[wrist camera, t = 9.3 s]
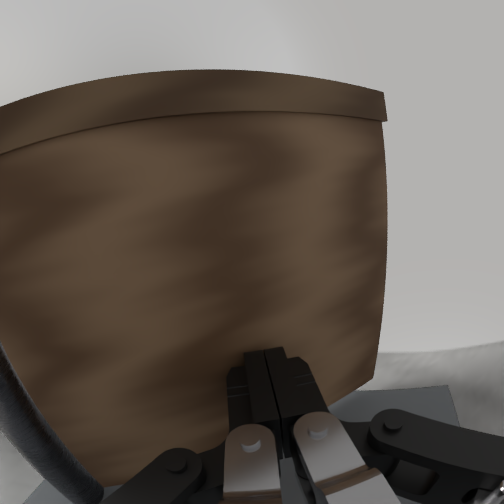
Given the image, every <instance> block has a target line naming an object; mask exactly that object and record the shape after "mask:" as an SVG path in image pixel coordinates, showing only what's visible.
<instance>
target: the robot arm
mask: <svg viewBox="0 0 504 504" xmlns="http://www.w3.org/2000/svg"><path fill="white" fill-rule="evenodd" d="M243 354H244V361H245V366H239V367H231V369H230V371H229V373H228V375H227V376H226V383H227V397H228V398H227V401H228V417H229V433H228V436H227V438H226V439H225V440H224V441H223V442H222V443H221V444H220V445H219V446H217V447H215V448H213V449H210V450H207V451H204V452H201V453H198V454H196V453H195V452H194V451H192V450H190V449H186V448H172V449H169V450H166V451H164V452H163V453H161V454H160V455H159V456H158V457H156V458H155V459H154V460H153V461H152V462H151V463H149V464H148V465H147V466H146V467H145V468H143V469H142V470H141V471H140V472H139V473H137V474H136V475H135V476H134V477H132V478H131V479H130V480H129V481H127V482H126V483H125V484H124V485H122V486H121V487H120V488H118V489H117V490H116V491H115V492H113V493H112V494H111V495H109V496H108V497H107V498H105V499H104V500H103V501H101V502H100V503H99V504H282V495H281V487H280V477H281V469H280V460H281V459H283V453H284V457H285V458H291V457H292V459H293V463H294V467H295V477H296V479H297V482H298V485H299V487H300V490H301V493H302V495H303V498H304V500H305V503H306V504H401V503H400V501H399V499H398V498H397V496H400V497H403V498H405V499H408V500H411V501H414V502H418V503H421V504H504V437H501V436H496V435H492V434H487V433H483V432H478V431H474V430H470V429H466V428H462V427H458V426H454V425H450V424H447V423H443V422H440V421H436V420H433V419H429V418H426V417H423V416H420V415H416V414H413V413H410V412H407V411H404V410H400V409H386V410H383V411H380V412H379V413H377V414H376V415H375V416H374V417H373V418H372V420H371V421H369V422H346V421H342V420H340V419H338V418H337V417H336V416H334V415H332V414H331V413H330V411H329V410H328V408H327V405H326V403H325V401H324V399H323V396H322V394H321V392H320V390H319V387H318V385H317V383H316V382H315V379H314V376H313V375H312V372H311V370H310V367H309V365H308V363H307V362H305V361H304V360H303V359H301V358H300V357H299V356H298V357H293V358H288V359H287V356H286V353H285V351H284V348H283V346H281V347H275V348H269V349H264V354H263V350H257V351H251V352H244V353H243ZM282 448H283V450H282ZM396 495H397V496H396Z"/></svg>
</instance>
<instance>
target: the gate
mask: <svg viewBox="0 0 504 504" xmlns="http://www.w3.org/2000/svg"><path fill="white" fill-rule="evenodd" d="M385 121H387V113H386V106H385V100H384V93H383V92H380V91H377V90H373V89H369V88H365V87H361V86H356V85H351V84H347V83H342V82H337V81H331V80H326V79H320V78H314V77H308V76H300V75H293V74H284V73H274V72H263V71H248V70H247V71H246V70H175V71H161V72H149V73H139V74H131V75H123V76H116V77H111V78H104V79H98V80H93V81H88V82H83V83H79V84H74V85H70V86H66V87H62V88H57V89H54V90H50V91H47V92H43V93H39V94H36V95H33V96H30V97H27V98H23V99H20V100H18V101H15V102H12V103H9V104H7V105H4V106H1V107H0V341H1V344H2V346H3V348H4V350H5V352H6V354H7V356H8V358H9V360H10V362H11V364H12V366H13V368H14V369H15V371H16V373H17V375H18V377H19V378H20V380H21V382H22V384H23V385H24V387H25V389H26V390H27V392H28V394H29V395H30V397H31V398H32V400H33V402H34V403H35V405H36V406H37V408H38V409H39V411H40V412H41V414H42V415H43V416H44V418H45V419H46V421H47V422H48V424H49V425H50V426H51V428H52V429H53V430H54V432H55V433H56V434H57V436H58V437H59V438H60V439H61V441H62V442H63V443H64V445H65V446H66V447H67V448H68V449H69V451H70V452H71V453H72V454H73V455H74V457H75V458H76V459H77V460H78V461H79V462H80V463H81V464H82V466H83V467H84V468H85V469H86V470H87V471H88V472H89V473H90V474H91V475H92V476H93V477H94V478H95V479H96V480H97V481H98V482H99V483H100V484H101V485H102V486H103V487H110V486H116V485H122V484H125V483H126V482H127V481H129V480H130V479H131V478H132V477H134V476H135V475H136V474H137V473H139V472H140V471H141V470H142V469H143V468H145V467H146V466H147V465H148V464H149V463H151V462H152V461H153V460H154V459H155V458H156V457H158V456H159V455H160V454H161V453H163V452H164V451H166V450H169V449H172V448H186V449H190V450H192V451H194V452H195V453H196V454H198V453H201V452H204V451H207V450H210V449H213V448H215V447H217V446H219V445H220V444H221V443H222V442H223V441H224V440H225V439H226V438H227V436H228V433H229V417H228V401H227V398H228V397H227V383H226V376H227V375H228V373H229V371H230V369H231V367H239V366H245V361H244V354H243V353H244V352H251V351H257V350H263V354H264V349H269V348H275V347H281V346H283V348H284V351H285V353H286V356H287V359H288V358H293V357H298V356H299V357H300V358H301V359H303V360H304V361H305V362H307V363H308V365H309V367H310V370H311V372H312V375H313V376H314V379H315V382H316V383H317V385H318V387H319V390H320V392H321V394H322V396H323V399H324V401H325V403H326V405H327V407H328V406H330V405H332V404H333V403H335V402H337V401H338V400H340V399H342V398H343V397H345V396H346V395H348V394H350V393H351V392H353V391H354V390H356V389H357V388H359V387H360V386H362V385H363V384H365V383H366V382H368V381H369V380H371V379H372V378H373V376H374V370H375V364H376V358H377V352H378V345H379V337H380V330H381V322H382V314H383V304H384V292H385V279H386V261H387V184H386V183H387V182H386V163H385V150H384V139H383V129H382V122H385Z"/></svg>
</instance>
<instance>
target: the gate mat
mask: <svg viewBox="0 0 504 504" xmlns="http://www.w3.org/2000/svg"><path fill="white" fill-rule="evenodd" d="M327 408H328V410H329V411H330V413H331V414H332V415H334V416H336V417H337V418H338V419H340V420H342V421H346V422H369V421H371V420H372V418H373V417H374V416H375V415H376V414H377V413H379V412H380V411H383V410H386V409H400V410H404V411H407V412H410V413H413V414H416V415H420V416H423V417H426V418H429V419H433V420H436V421H440V422H443V423H447V424H450V425H454V426H458V427H460V426H459V422H458V418H457V414H456V411H455V407H454V404H453V401H452V397H451V394H450V391H449V388H448V385H443V386H434V387H424V388H413V389H398V390H374V391H353V392H351V393H350V394H348V395H346V396H345V397H343V398H342V399H340V400H338V401H337V402H335V403H333V404H332V405H330V406H328V407H327ZM282 450H283V448H282ZM280 469H281V477H280V487H281V495H282V504H306V503H305V500H304V498H303V495H302V493H301V490H300V487H299V485H298V482H297V479H296V477H295V467H294V463H293V459H292V457H291V458H285V457H284V453H283V459H281V460H280ZM122 485H124V484H122ZM122 485H116V486H110V487H103V488H104V496H103V499H102V501H103V500H104V499H105V498H107V497H108V496H109V495H111V494H112V493H113V492H115V491H116V490H117V489H118V488H120V487H121V486H122ZM396 496H397V495H396ZM397 498H398V499H399V501H400V503H401V504H421V503H418V502H414V501H411V500H408V499H405V498H403V497H400V496H397ZM23 504H73V503H72V502H71V501H69V500H68V499H67V498H66V497H65V496H63V495H62V494H61V493H60V492H59V491H58V490H57V489H55V488H54V487H53V486H52V485H51V484H50V483H49V482H48V481H47V480H46V479H45V480H44V481H43V482H42V483H41V484H40V485H39V486H38V488H37V489H36V490H35V491H34V492H33V493H32V494H31V495H30V496H29V498H28V499H27V500H26V501H25V502H24V503H23Z"/></svg>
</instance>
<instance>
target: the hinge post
mask: <svg viewBox="0 0 504 504" xmlns="http://www.w3.org/2000/svg"><path fill="white" fill-rule="evenodd" d="M0 430H1V431H2V432H3V433H4V435H5V436H6V437H7V438H8V440H9V441H10V442H11V443H12V444H13V446H14V447H15V448H16V449H17V450H18V451H19V452H20V454H21V455H22V456H23V457H24V458H25V459H26V460H27V461H28V462H29V463H30V464H31V465H32V466H33V467H34V468H35V469H36V470H37V471H38V472H39V473H40V474H41V475H42V476H43V477H44V478H45V479H46V480H47V481H48V482H49V483H50V484H51V485H52V486H53V487H54V488H55V489H57V490H58V491H59V492H60V493H61V494H62V495H63V496H65V497H66V498H67V499H68V500H69V501H71V502H72V503H73V504H99V503H100V502H101V501H102V499H103V496H104V488H103V486H102V485H101V484H100V483H99V482H98V481H97V480H96V479H95V478H94V477H93V476H92V475H91V474H90V473H89V472H88V471H87V470H86V469H85V468H84V467H83V466H82V464H81V463H80V462H79V461H78V460H77V459H76V458H75V457H74V455H73V454H72V453H71V452H70V451H69V449H68V448H67V447H66V446H65V445H64V443H63V442H62V441H61V439H60V438H59V437H58V436H57V434H56V433H55V432H54V430H53V429H52V428H51V426H50V425H49V424H48V422H47V421H46V419H45V418H44V416H43V415H42V414H41V412H40V411H39V409H38V408H37V406H36V405H35V403H34V402H33V400H32V398H31V397H30V395H29V394H28V392H27V390H26V389H25V387H24V385H23V384H22V382H21V380H20V378H19V377H18V375H17V373H16V371H15V369H14V368H13V366H12V364H11V362H10V360H9V358H8V356H7V354H6V352H5V350H4V348H3V346H2V344H1V341H0Z"/></svg>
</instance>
